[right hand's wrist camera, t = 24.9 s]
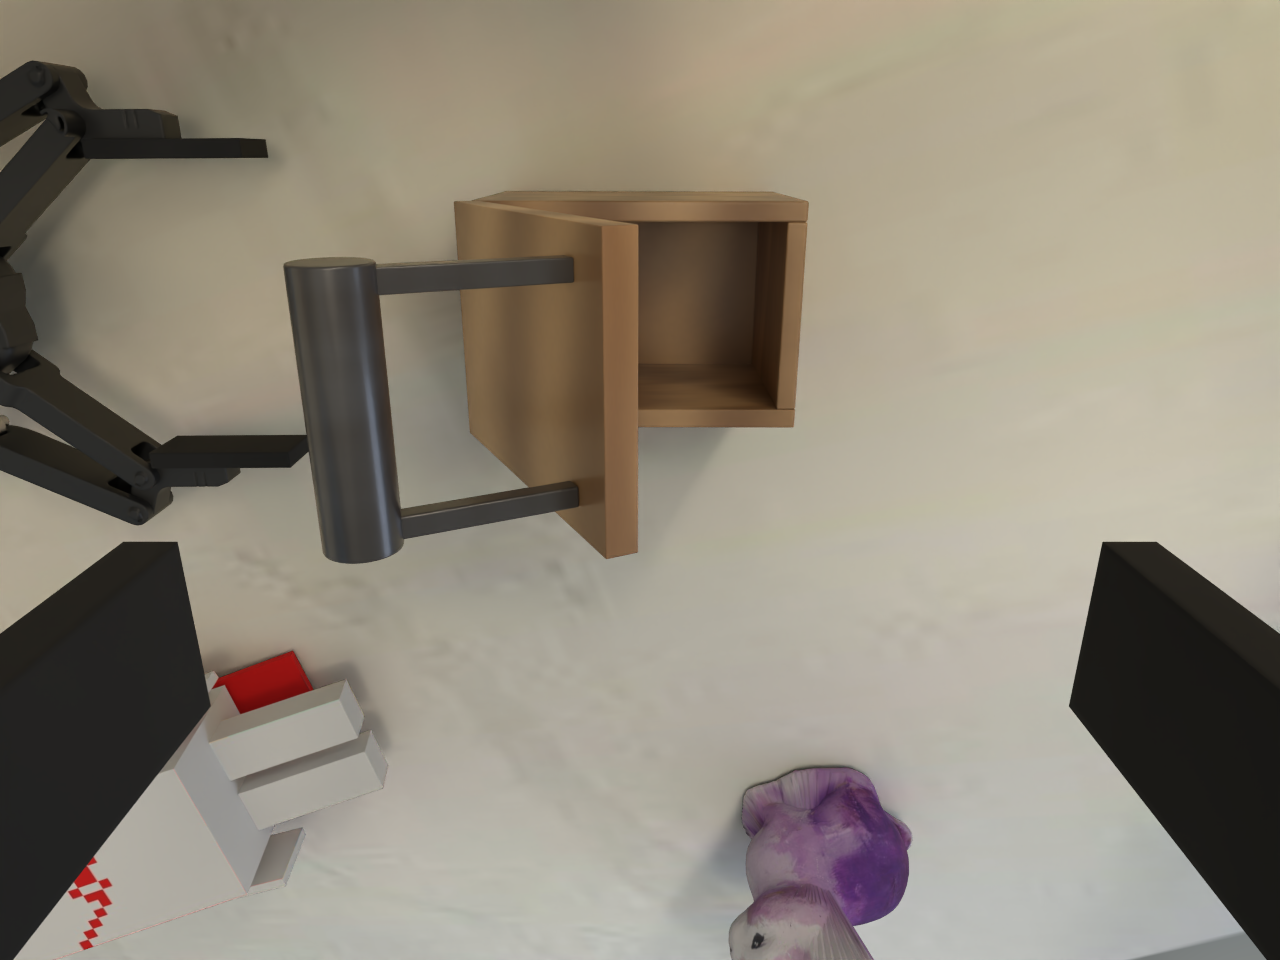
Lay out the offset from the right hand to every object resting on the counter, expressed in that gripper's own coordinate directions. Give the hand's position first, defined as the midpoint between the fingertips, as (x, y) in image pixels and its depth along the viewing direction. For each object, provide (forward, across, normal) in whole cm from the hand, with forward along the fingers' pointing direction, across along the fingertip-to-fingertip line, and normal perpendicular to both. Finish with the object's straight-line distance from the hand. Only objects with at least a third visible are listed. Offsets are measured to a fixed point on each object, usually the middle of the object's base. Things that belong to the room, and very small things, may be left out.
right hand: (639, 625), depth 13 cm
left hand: (+29, -16, 0) cm, 33 cm away
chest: (+35, 0, 0) cm, 35 cm away
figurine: (+35, +11, -34) cm, 50 cm away
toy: (+35, -30, -29) cm, 55 cm away
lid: (+19, -3, 0) cm, 19 cm away
